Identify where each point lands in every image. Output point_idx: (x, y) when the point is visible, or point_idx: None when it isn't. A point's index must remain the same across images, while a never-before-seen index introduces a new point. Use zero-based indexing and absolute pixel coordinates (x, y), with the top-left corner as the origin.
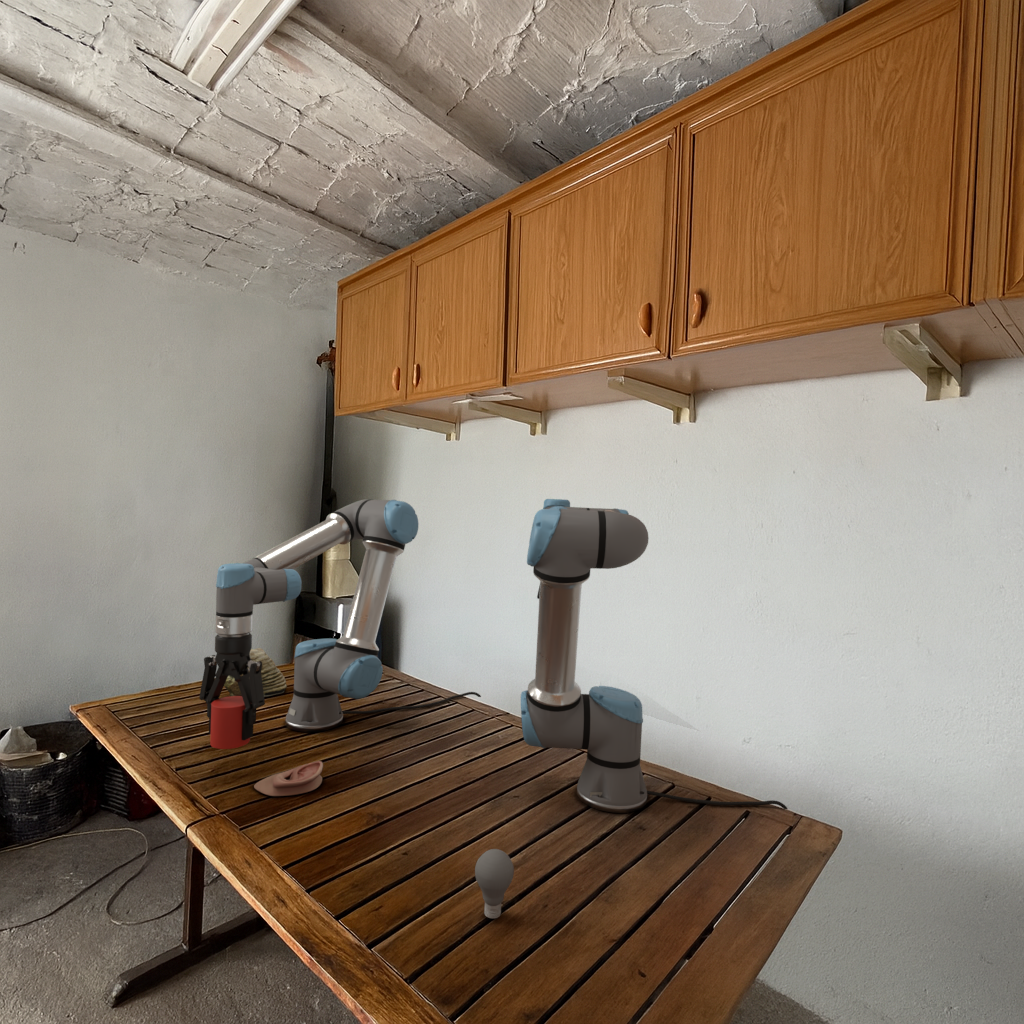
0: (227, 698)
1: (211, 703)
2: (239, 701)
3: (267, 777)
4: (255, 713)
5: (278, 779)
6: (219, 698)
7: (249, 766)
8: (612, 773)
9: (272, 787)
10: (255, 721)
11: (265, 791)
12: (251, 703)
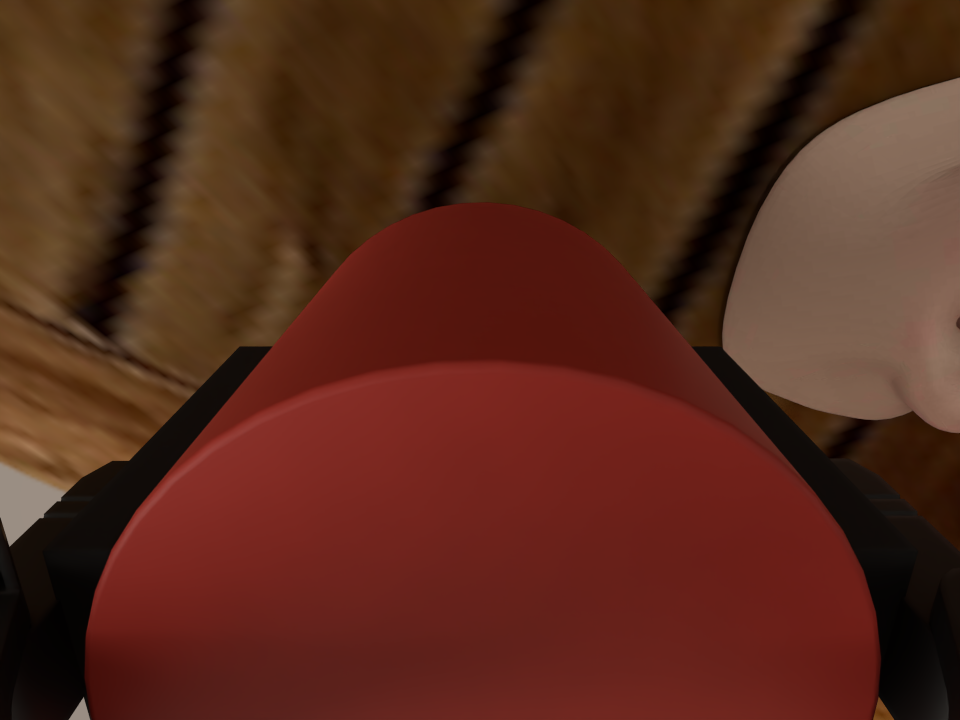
0: (239, 621)
1: (73, 704)
2: (630, 672)
3: (787, 291)
4: (945, 556)
5: (953, 394)
6: (89, 675)
7: (491, 95)
8: None
9: (895, 400)
10: (866, 472)
11: (846, 411)
12: (943, 660)
